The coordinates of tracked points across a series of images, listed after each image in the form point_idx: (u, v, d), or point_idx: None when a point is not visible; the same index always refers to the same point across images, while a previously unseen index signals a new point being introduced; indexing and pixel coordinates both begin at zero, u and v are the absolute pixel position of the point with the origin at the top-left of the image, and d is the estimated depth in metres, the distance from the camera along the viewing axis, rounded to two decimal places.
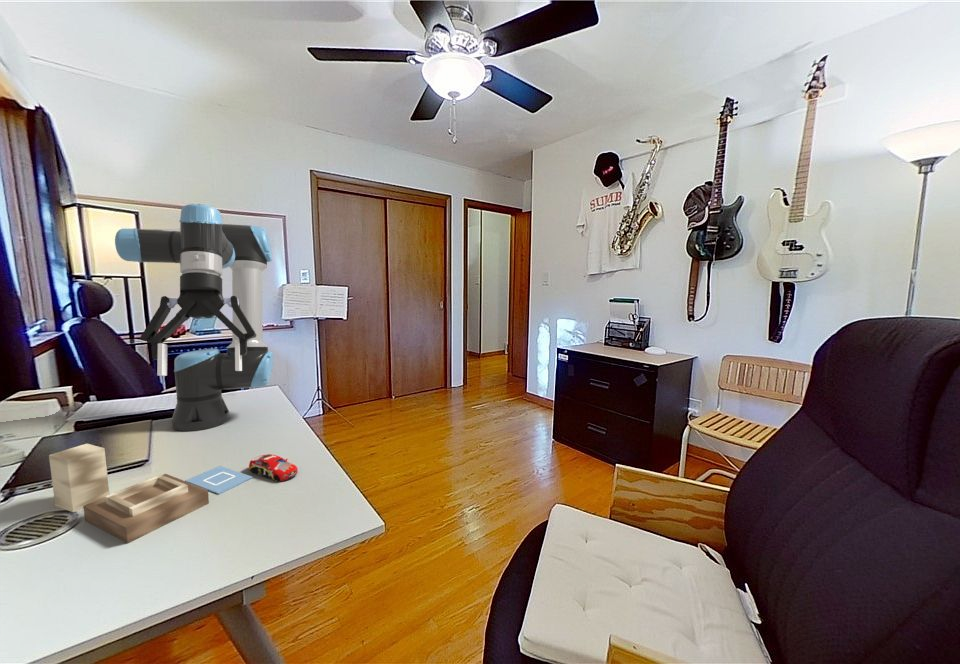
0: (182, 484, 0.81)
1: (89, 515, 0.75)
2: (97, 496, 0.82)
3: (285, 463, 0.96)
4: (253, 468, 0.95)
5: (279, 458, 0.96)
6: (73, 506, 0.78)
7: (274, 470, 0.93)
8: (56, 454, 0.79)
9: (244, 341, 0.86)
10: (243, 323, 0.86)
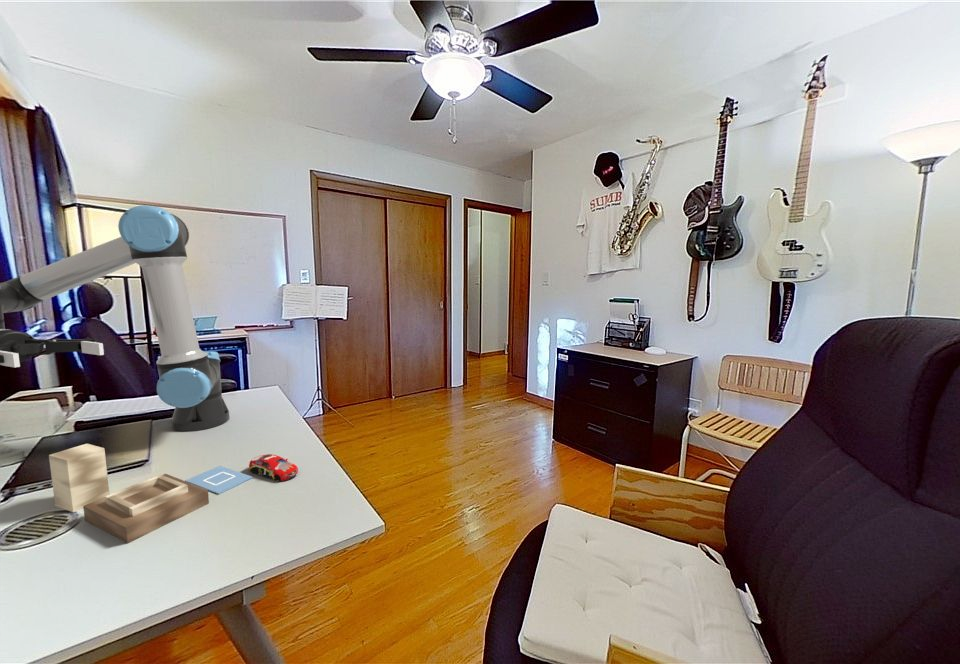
0: (182, 484, 0.81)
1: (89, 515, 0.75)
2: (97, 496, 0.82)
3: (285, 463, 0.96)
4: (253, 468, 0.95)
5: (279, 458, 0.96)
6: (73, 506, 0.78)
7: (275, 470, 0.93)
8: (56, 454, 0.79)
9: None
10: None
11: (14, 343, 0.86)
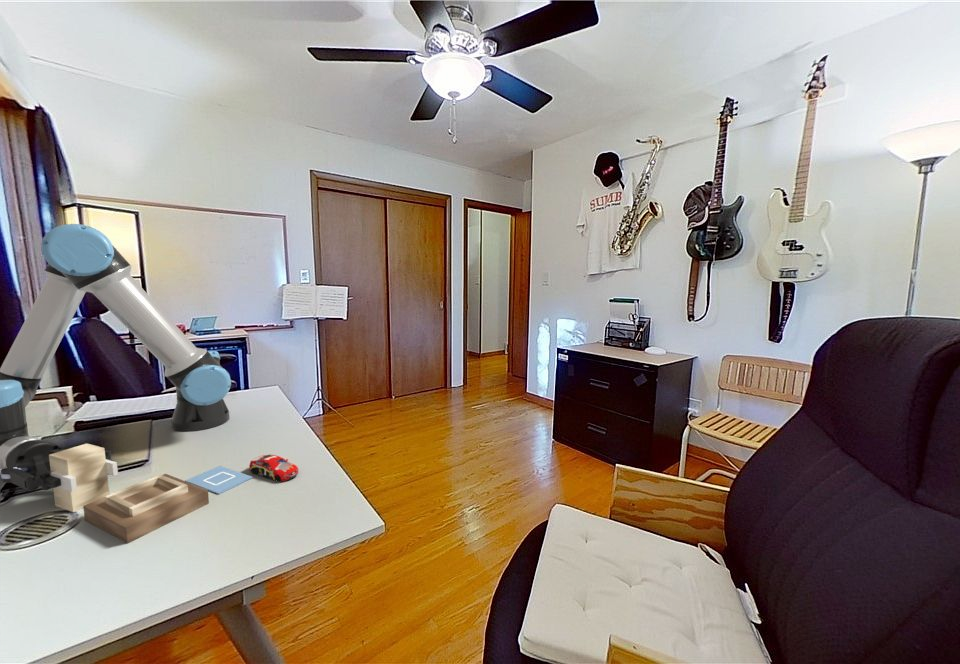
0: (182, 484, 0.81)
1: (89, 515, 0.75)
2: (97, 496, 0.82)
3: (286, 463, 0.95)
4: (253, 468, 0.95)
5: (280, 458, 0.96)
6: (73, 506, 0.78)
7: (275, 470, 0.92)
8: (56, 454, 0.79)
9: None
10: None
11: (42, 458, 0.83)
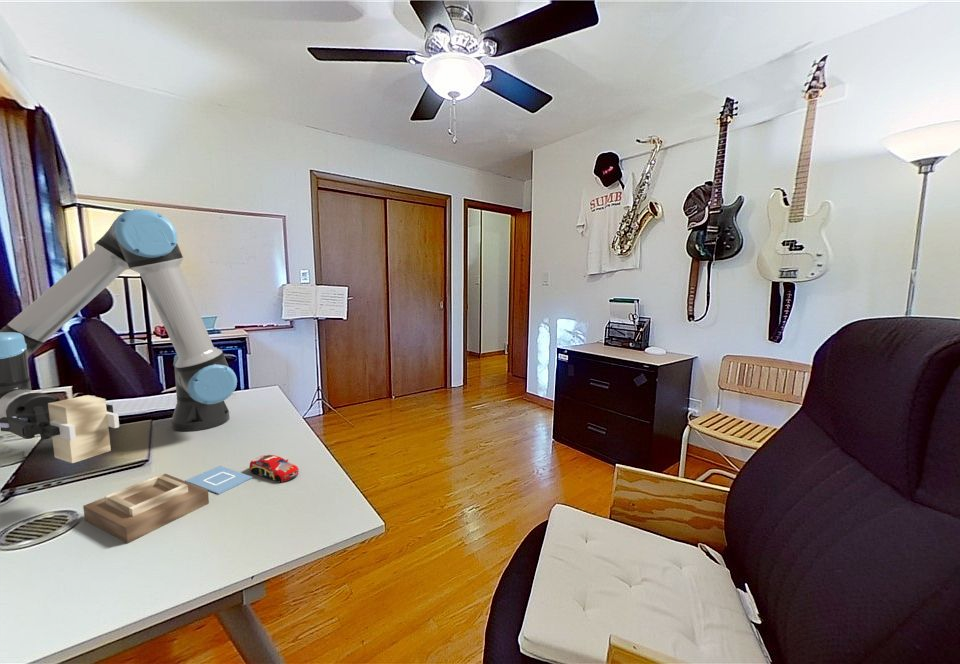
0: (182, 484, 0.81)
1: (89, 515, 0.75)
2: (98, 449, 0.78)
3: (286, 464, 0.95)
4: (254, 469, 0.95)
5: (280, 459, 0.96)
6: (72, 457, 0.75)
7: (275, 471, 0.92)
8: (55, 403, 0.76)
9: None
10: None
11: (42, 409, 0.80)
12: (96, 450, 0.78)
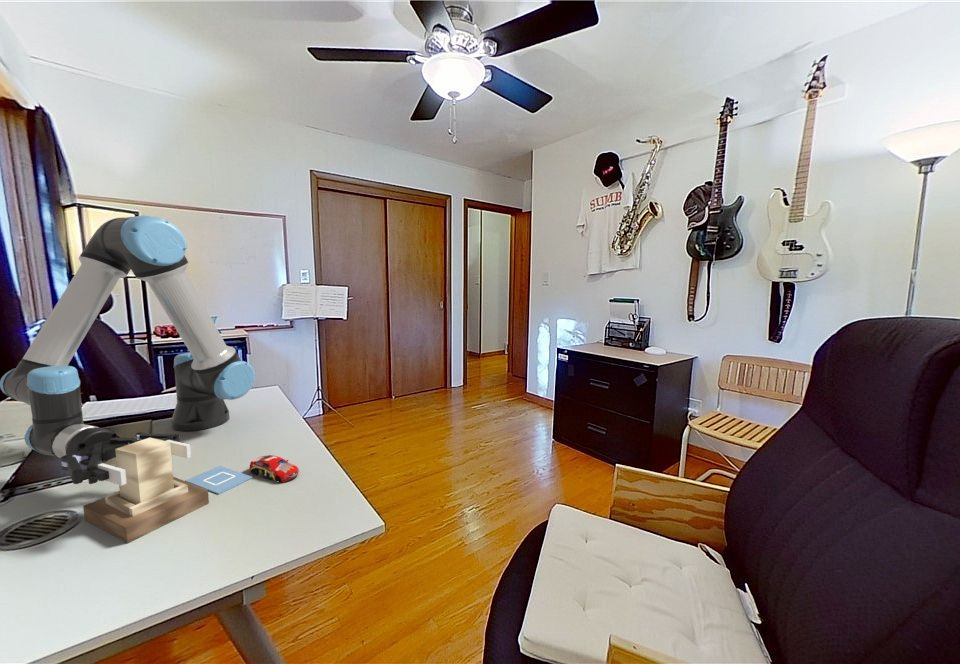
0: (182, 484, 0.81)
1: (89, 515, 0.75)
2: (163, 492, 0.79)
3: (286, 464, 0.95)
4: (254, 469, 0.95)
5: (280, 459, 0.96)
6: None
7: (275, 471, 0.92)
8: (122, 448, 0.76)
9: None
10: None
11: (102, 446, 0.80)
12: None
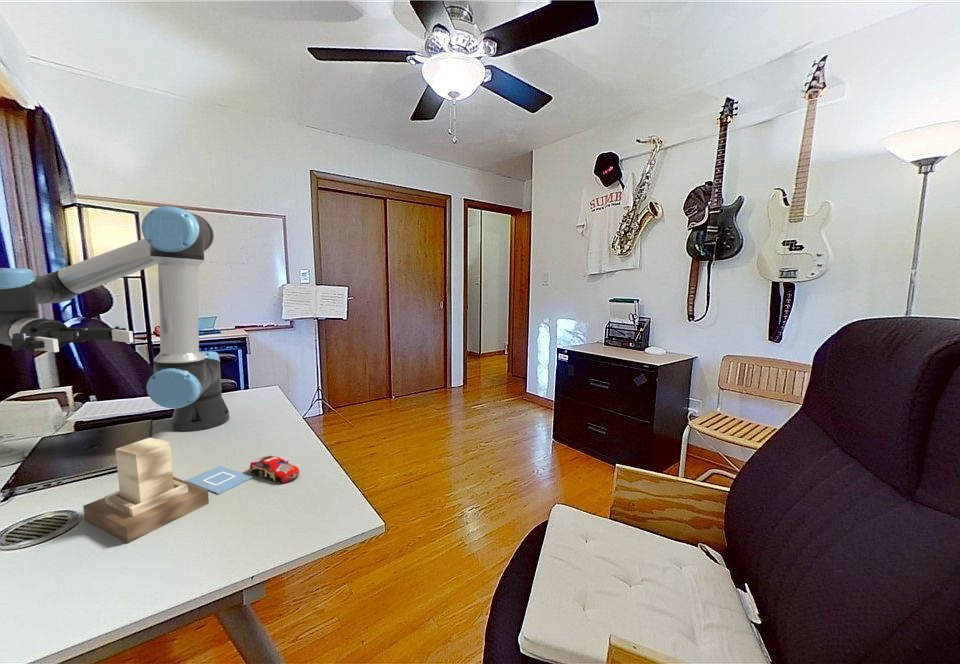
0: (182, 484, 0.81)
1: (89, 515, 0.75)
2: (163, 492, 0.79)
3: (286, 465, 0.95)
4: (254, 470, 0.94)
5: (280, 460, 0.95)
6: None
7: (276, 472, 0.92)
8: (122, 448, 0.76)
9: None
10: None
11: (50, 331, 0.91)
12: None
